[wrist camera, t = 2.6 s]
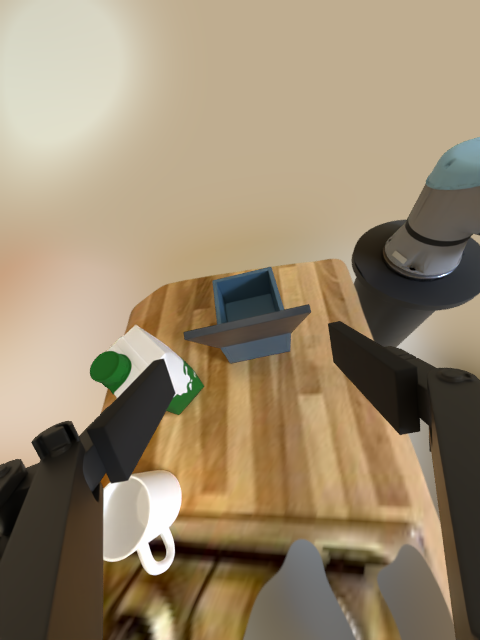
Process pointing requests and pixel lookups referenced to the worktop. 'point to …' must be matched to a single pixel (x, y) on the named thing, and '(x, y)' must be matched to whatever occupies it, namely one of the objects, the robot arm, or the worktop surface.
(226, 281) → the storage box
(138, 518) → the cup
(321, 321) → the worktop surface
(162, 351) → the milk carton
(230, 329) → the lid
